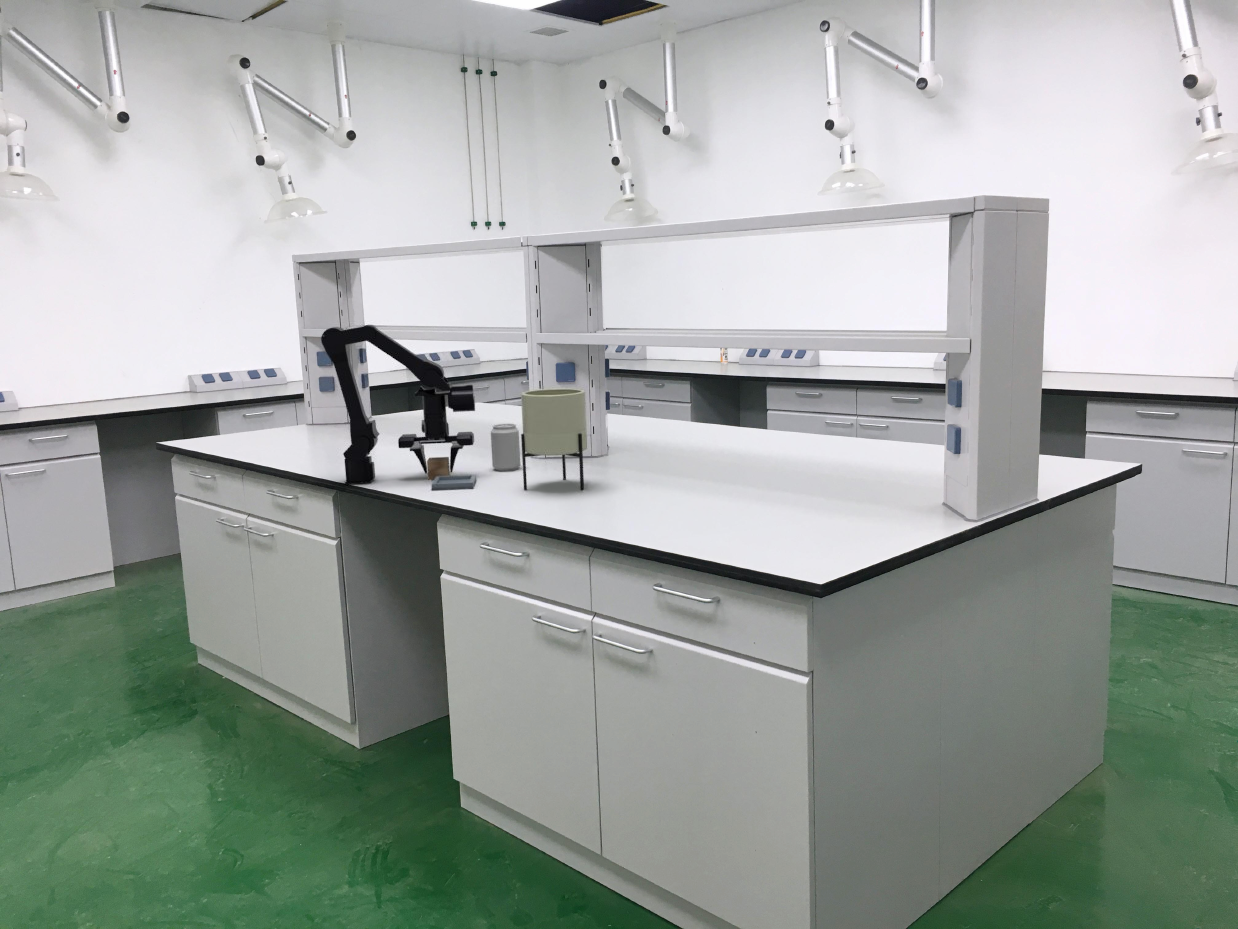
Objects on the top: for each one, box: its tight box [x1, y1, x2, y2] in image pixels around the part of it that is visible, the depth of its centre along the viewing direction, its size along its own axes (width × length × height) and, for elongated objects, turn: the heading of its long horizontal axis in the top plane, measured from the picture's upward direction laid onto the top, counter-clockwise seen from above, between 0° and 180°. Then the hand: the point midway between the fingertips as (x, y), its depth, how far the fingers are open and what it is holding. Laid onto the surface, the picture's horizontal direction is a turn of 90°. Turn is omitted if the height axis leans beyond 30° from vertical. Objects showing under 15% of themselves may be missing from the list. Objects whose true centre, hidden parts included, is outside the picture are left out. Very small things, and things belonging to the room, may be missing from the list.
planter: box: [520, 388, 588, 491], centre depth 234 cm, size 15×16×23 cm
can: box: [490, 423, 521, 472], centre depth 259 cm, size 8×8×12 cm
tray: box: [431, 474, 477, 491], centre depth 241 cm, size 10×10×2 cm
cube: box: [426, 456, 451, 481], centre depth 251 cm, size 5×5×5 cm
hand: (438, 472), depth 251 cm, fingers open, 6 cm apart
